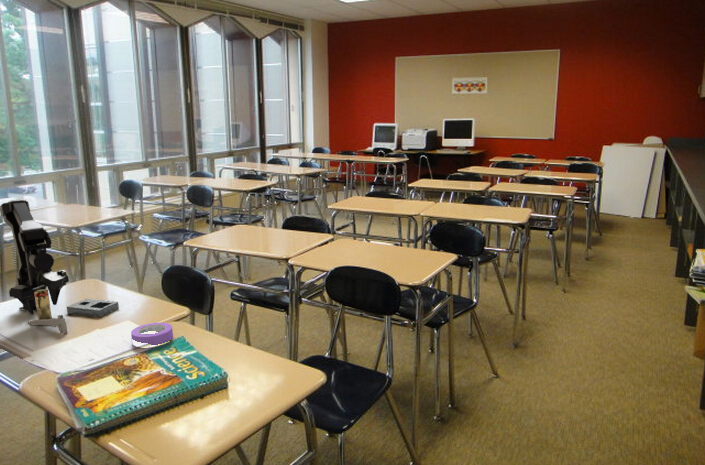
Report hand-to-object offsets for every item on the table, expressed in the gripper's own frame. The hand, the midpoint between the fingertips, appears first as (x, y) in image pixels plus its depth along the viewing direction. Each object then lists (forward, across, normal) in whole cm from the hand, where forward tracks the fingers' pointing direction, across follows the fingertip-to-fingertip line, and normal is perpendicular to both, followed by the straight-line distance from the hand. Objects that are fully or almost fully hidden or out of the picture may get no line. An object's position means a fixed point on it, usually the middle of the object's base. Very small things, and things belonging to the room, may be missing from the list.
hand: (43, 309), depth 180 cm
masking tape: (+4, -5, -48) cm, 48 cm away
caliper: (+4, -6, -7) cm, 10 cm away
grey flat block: (+4, +11, -10) cm, 15 cm away
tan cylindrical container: (+4, 0, 0) cm, 4 cm away
